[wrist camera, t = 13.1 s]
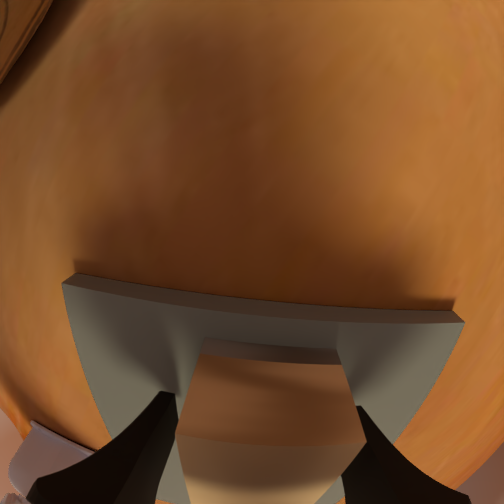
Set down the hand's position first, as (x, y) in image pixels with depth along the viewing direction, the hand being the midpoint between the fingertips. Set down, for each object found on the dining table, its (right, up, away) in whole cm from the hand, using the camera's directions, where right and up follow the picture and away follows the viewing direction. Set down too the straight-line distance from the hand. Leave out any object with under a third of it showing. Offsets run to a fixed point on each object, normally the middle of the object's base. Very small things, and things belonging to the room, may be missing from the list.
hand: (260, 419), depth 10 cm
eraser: (0, 0, +1) cm, 1 cm away
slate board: (-1, -6, +4) cm, 8 cm away
